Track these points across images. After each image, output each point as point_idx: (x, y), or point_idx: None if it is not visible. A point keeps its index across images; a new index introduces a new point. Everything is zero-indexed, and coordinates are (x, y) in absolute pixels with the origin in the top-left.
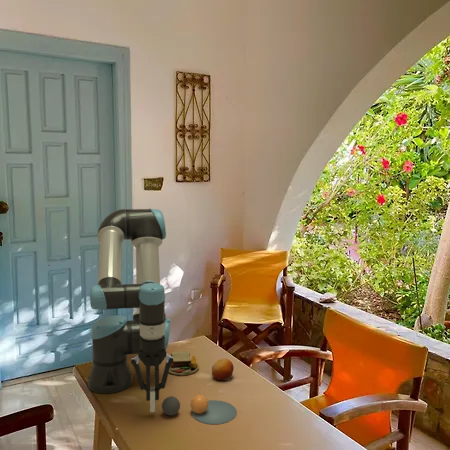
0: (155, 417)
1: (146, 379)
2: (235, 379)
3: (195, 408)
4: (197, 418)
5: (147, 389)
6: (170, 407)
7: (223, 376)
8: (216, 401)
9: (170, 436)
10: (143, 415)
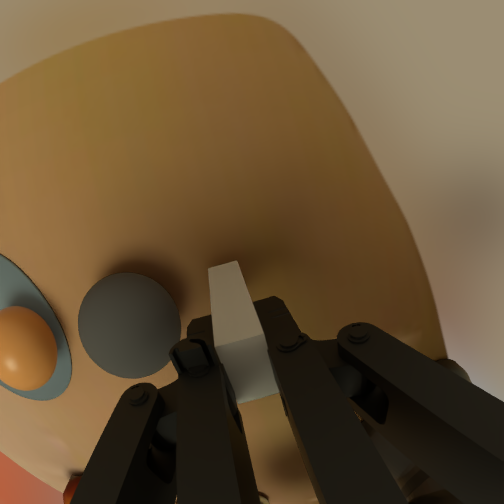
0: (207, 260)
1: (355, 426)
2: (63, 475)
3: (14, 312)
4: (20, 278)
5: (297, 340)
6: (107, 287)
7: (77, 484)
8: (28, 393)
9: (85, 104)
10: (275, 267)
